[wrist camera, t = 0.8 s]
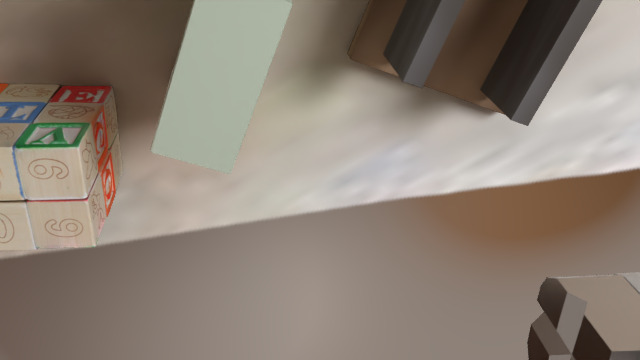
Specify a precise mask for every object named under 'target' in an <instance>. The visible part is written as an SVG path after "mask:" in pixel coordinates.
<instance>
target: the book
mask: <svg viewBox="0 0 640 360" xmlns="http://www.w3.org/2000/svg"><path fill="white" fill-rule="evenodd" d="M292 4H293V3H292V0H193V4H192V7H191V11H190V14H189V18H188V21H187V24H186V28H185V31H184V35H183V38H182V41H181V45H180V48H179V52H178V55H177V59H176V62H175V65H174V67H173V69H172V73H171V76H170V80H169V83H168V87H167V90H166V94H165V98H164V101H163V105H162V109H161V112H160V116H159V120H158V123H157V127H156V130H155V134H154V138H153V141H152V145H151V149H150V150H151V152H152V153H156V154H159V155H163V156H166V157H170V158H173V159H177V160H181V161H184V162H188V163H191V164H195V165H199V166H202V167H206V168H209V169H213V170H217V171H220V172H224V173H227V174H231V171H232V168H233V166H234V163H235V160H236V157H237V155H238V152H239V149H240V146H241V144H242V141H243V138H244V135H245V133H246V130H247V127H248V125H249V122H250V119H251V116H252V114H253V111H254V108H255V105H256V103H257V100H258V97H259V95H260V92H261V89H262V86H263V84H264V81H265V78H266V75H267V73H268V70H269V67H270V64H271V62H272V59H273V56H274V54H275V51H276V48H277V45H278V43H279V40H280V37H281V34H282V32H283V29H284V26H285V23H286V21H287V18H288V15H289V13H290V10H291V7H292Z"/></svg>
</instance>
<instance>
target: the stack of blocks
mask: <svg viewBox="0 0 640 360" xmlns="http://www.w3.org/2000/svg"><path fill="white" fill-rule="evenodd" d="M122 172H123V166H122V158H121V150H120V141H119V133H118V121H117V112H116V105H115V98H114V92H113V88H112V86H63V87H61V86H60V85H57V84H2V83H0V251H15V250H36V249H38V248H76V247H79V248H82V247H95V246H96V244H97V241H98V238H99V236H100V233H101V230H102V228H103V225H104V222H105V220H106V217H108V214H109V212H110V209H111V206H112V203H113V200H114V197H115V194H116V190H117V187H118V184H119V181H120V178H121V175H122Z"/></svg>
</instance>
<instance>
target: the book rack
mask: <svg viewBox="0 0 640 360" xmlns="http://www.w3.org/2000/svg"><path fill="white" fill-rule="evenodd" d="M601 2H602V0H370V1H369V3H368V6H367V8H366V11H365V13H364V15H363V18H362V20H361V22H360V25H359V27H358V29H357V32H356V34H355V37H354V39H353V41H352V44H351V46H350V48H349V51H348V53H347V54H348V55H349V57H350V59H351V60H354V61H357V62H360V63H362V64H365V65H368V66H371V67H374V68H376V69H379V70H382V71H385V72H387V73H390V74H393V75H396V76H399V77H400V78H401V79H402V81H403V82H406V83H409V84H412V85H415V86H417V87H420V88H422V87H423V85H424V86H426V87H429V88H432V89H435V90H438V91H440V92H443V93H446V94H449V95H452V96H454V97H457V98H460V99H463V100H465V101H468V102H471V103H474V104H477V105H479V106H482V107H485V108H488V109H491V110H493V111H496V112H499V113H502V114H504V115H506V116H507V117H508V118H509V119H511V120H513V121H515V122H518V123H521V124H524V125H527V126H528V125H529V123H530V121H531V120H532V118H533V116H534V115H535V113H536V111H537V109H538V108H539V106H540V104H541V103H542V101H543V99H544V98H545V96H546V94H547V93H548V91H549V89H550V88H551V86H552V84H553V83H554V81H555V79H556V78H557V76H558V74H559V72H560V71H561V69H562V67H563V66H564V64H565V62H566V61H567V59H568V57H569V56H570V54H571V52H572V51H573V49H574V47H575V46H576V44H577V42H578V41H579V39H580V37H581V35H582V34H583V32H584V30H585V29H586V27H587V25H588V24H589V22H590V20H591V19H592V17H593V15H594V14H595V12H596V10H597V9H598V7H599V5H600V3H601Z"/></svg>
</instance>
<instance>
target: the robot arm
mask: <svg viewBox="0 0 640 360" xmlns="http://www.w3.org/2000/svg"><path fill="white" fill-rule="evenodd" d="M537 301H538V302H539V304H540V306H541V307H542V309H543V311H544V313H542V314H541V315H540V316H539V318H537V319H536V320H535V321H534V322H533V323H532V324H531V327H530V332H529V337H528V342H527V344H528V357H529V360H640V273H621V274H613V275H604V276H572V277H547V278H546V279H545V281H544V282H543V284H542V285H541V287H540V291H539V295H538V298H537Z"/></svg>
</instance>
